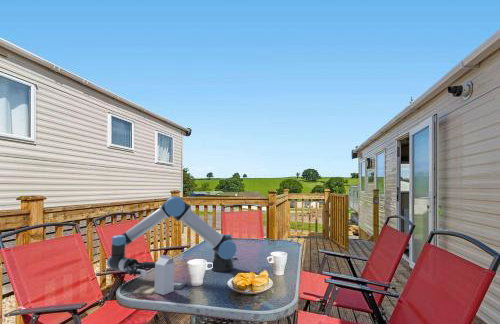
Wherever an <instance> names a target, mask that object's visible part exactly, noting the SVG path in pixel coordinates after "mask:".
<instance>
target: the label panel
mask: <svg viewBox="0 0 500 324" xmlns="http://www.w3.org/2000/svg"><path fill="white" fill-rule="evenodd" d="M186 285H187V282H184V281H182V282H181V281H174V290H182V289H183V288H184V287H186ZM153 287H154V285H153Z"/></svg>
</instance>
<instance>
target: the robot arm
mask: <svg viewBox="0 0 500 324" xmlns="http://www.w3.org/2000/svg"><path fill="white" fill-rule="evenodd" d="M170 217H172V218H174V219H175V220H176V221H177V222H182V223H184V224H185V225H186V227H188V228H190V230H192V231H193V232H194V233H196V234H197V235H198V236H200V238H202V240H204V241H205V242H207V243H208V244H209V245H210V248H211V250H212V251H213V259H212V262H211V267H212V263H213V268H212V269H211V270H212V271H213V272H216V273H218V272H219V273H225V272H226V273H227V272H231V271H233V270H234V269H235V268H234V267H235V266H234V263H233V257H234V256H235V255H236V253H237V246H236V243H235V242H234V241H233V240H232V239H233V237H232V235H231V234H224V233H219V232H218V231H217V230H215V229H214V228H213V227H212V226H211V225H209V224H208V223H207V222H206V221H205V220H204V219H202V218H201V217H200V216H199V215H197V214H196V213H195V212H194V211H192V209H191V206H190V205H189V204H188V203H187V202H185V200H184V199H182V198H181V197H180V196H178V195H172V196H170V197H169V198H168V199H166V201H164V202H163V203H162V204H161V205H159V208H158V209H156V210H155V211H153V212H152V213H150V215H148V216H146V217H145V218H144V219H142V220H141V221H139V222H138V223H136V224H135V225H133V226H132V227H130V228H129V229H128V230H126V231H125V232H123V234H119V235H118V234H117V235H113V236H112V237H111V254H110V256H109V257H108V259H107V260H106V265H107V267H108V268H109V269H112V270H116V271H121V272H124V273H127V274H128V275H129V276H133V277H136V276H142V277H146V276H147V270H146V269H155V263H156V262H157V261H156V262H155V261H154V262H153V261H142V262H139V261H138V260H137V259H135V258H132V257H126V247H127V246H128V245H130V244H131V243H132V242H135V240H137V239H138V238H140V237H141V236H143V235H144V234H146V233H147V232H148V231H150V229H153V228H154V227H156V226H157V225H158V224H160V223H161V222H162V221H163V220H165V219H167V218H168V219H169V218H170ZM211 267H210V268H211Z"/></svg>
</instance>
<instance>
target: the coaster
mask: <svg viewBox="0 0 500 324" xmlns="http://www.w3.org/2000/svg"><path fill="white" fill-rule="evenodd" d="M132 294H136V295H149V296H151V295H152V294H155V293H154V287H153V286H149V285H142V286H140V287H138V288H136V289H135V290H133V291H132Z"/></svg>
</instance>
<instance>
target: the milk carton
mask: <svg viewBox="0 0 500 324" xmlns="http://www.w3.org/2000/svg"><path fill="white" fill-rule="evenodd" d="M174 282H175V262H174V260H172V259H171V255H164V254H160V256H159V258H158V260H156V263H155V268H154V293H153V294H159V295H162V296H165V295H167V294H169V293H173V292H174V290H175V289H174Z"/></svg>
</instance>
